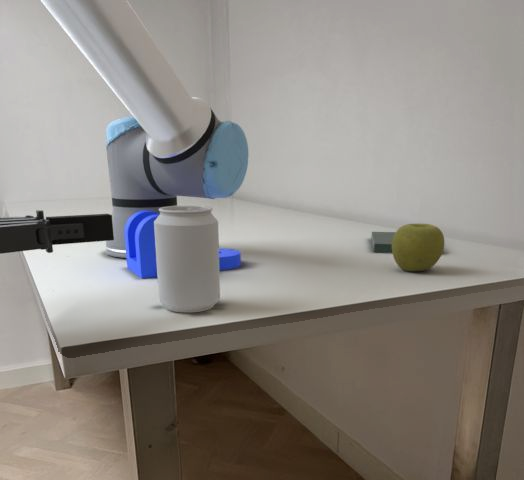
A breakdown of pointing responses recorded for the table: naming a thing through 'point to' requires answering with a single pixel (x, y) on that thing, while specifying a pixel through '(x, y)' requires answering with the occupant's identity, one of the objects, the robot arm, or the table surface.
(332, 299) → the table surface
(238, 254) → the bracket
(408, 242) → the apple
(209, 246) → the can
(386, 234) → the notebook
